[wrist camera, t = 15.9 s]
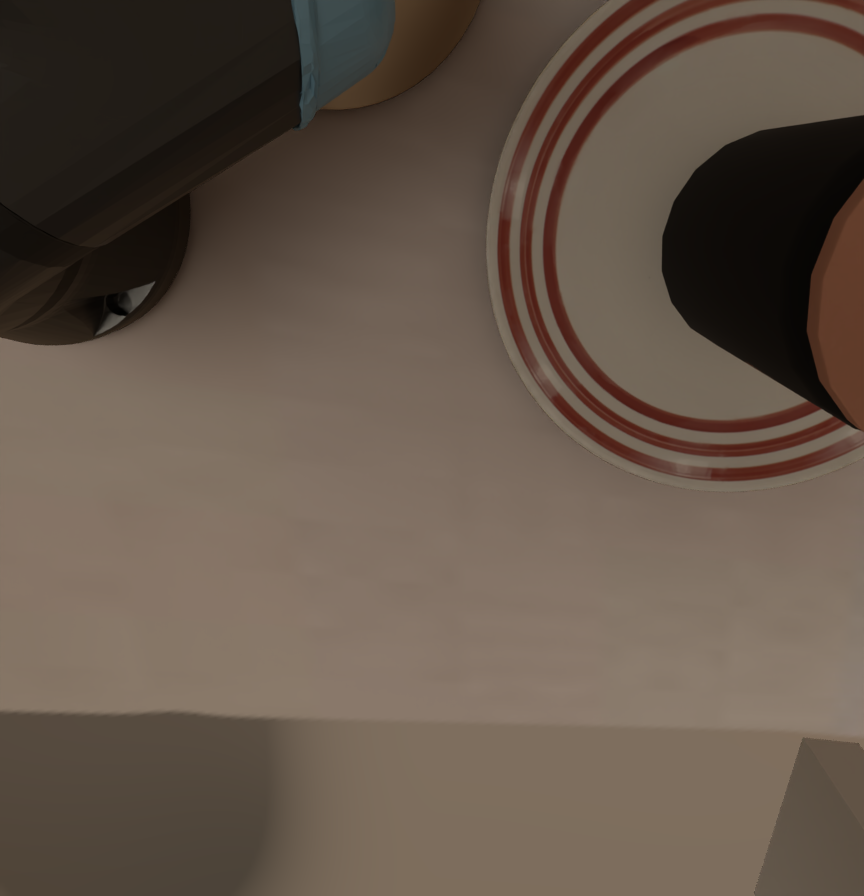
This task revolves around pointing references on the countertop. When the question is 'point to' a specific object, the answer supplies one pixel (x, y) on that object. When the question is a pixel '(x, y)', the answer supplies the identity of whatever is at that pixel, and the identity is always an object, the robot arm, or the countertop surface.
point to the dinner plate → (658, 233)
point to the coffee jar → (779, 258)
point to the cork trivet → (411, 50)
